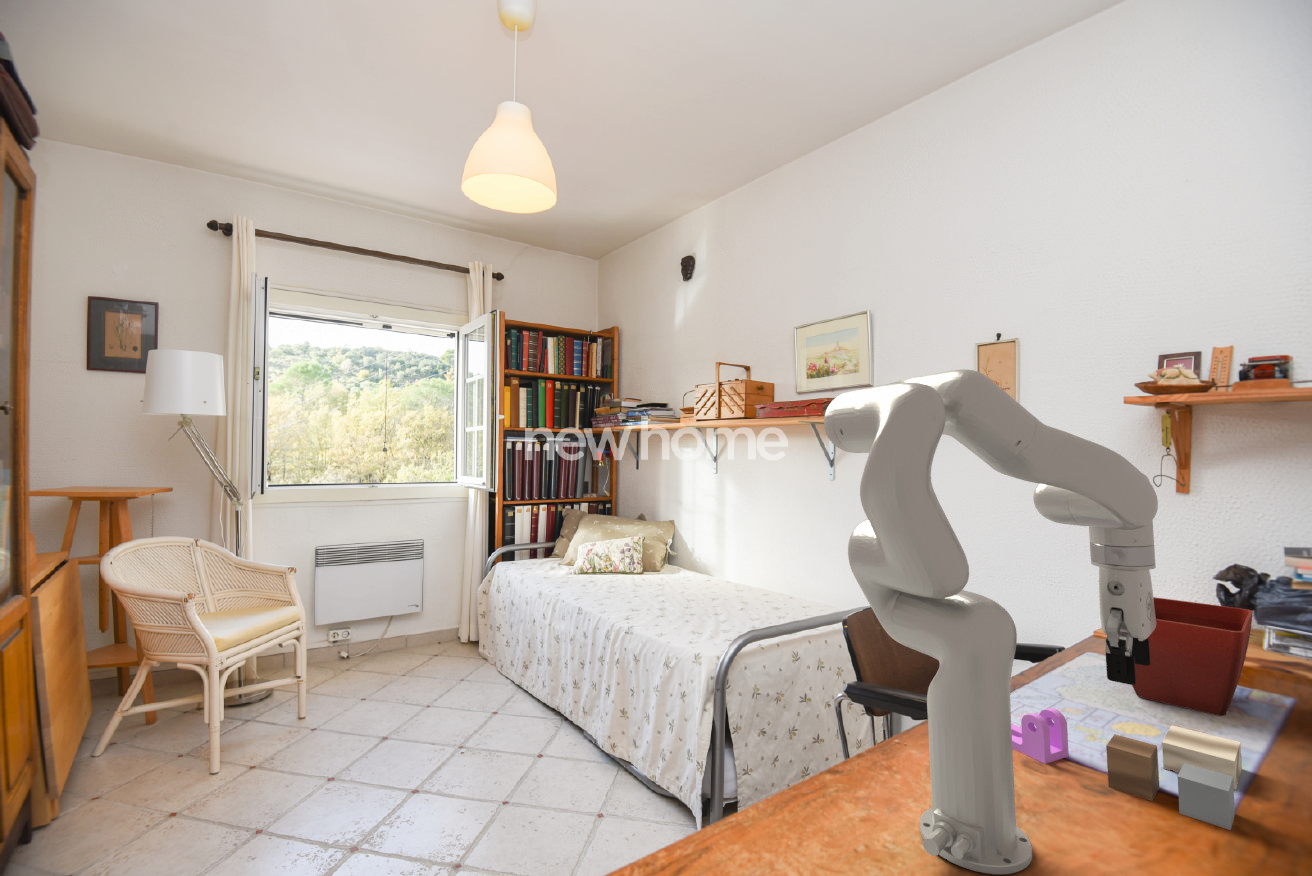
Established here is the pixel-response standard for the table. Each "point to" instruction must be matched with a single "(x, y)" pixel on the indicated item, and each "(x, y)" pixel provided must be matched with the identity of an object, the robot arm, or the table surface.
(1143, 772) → the walnut block
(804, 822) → the table surface
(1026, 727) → the bracket
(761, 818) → the table surface
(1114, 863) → the table surface
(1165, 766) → the birch block
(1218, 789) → the grey block
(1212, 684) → the plant pot
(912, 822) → the table surface
